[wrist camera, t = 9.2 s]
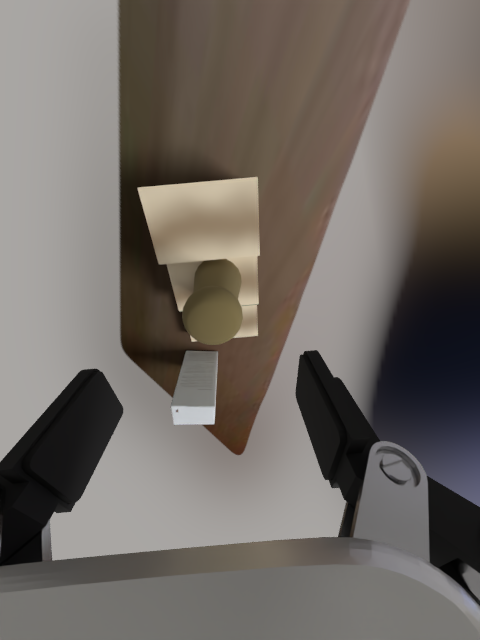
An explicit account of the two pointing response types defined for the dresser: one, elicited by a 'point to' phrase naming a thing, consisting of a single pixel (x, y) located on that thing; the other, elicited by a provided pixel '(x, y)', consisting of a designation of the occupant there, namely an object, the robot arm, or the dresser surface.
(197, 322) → the cork
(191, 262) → the step stand
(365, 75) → the dresser surface
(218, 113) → the dresser surface
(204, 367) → the skincare box
